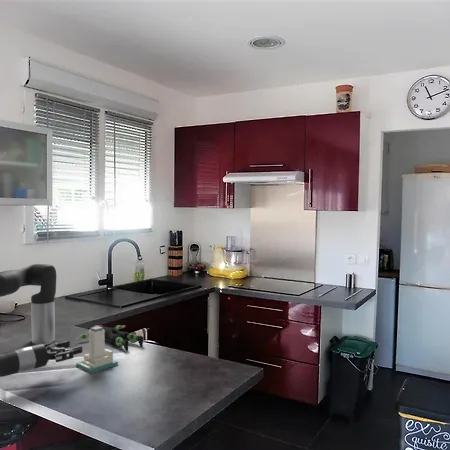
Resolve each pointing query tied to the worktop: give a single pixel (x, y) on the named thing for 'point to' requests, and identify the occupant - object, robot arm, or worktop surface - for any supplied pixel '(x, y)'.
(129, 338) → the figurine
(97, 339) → the cream rectangular block
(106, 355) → the green base socket
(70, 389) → the worktop surface
